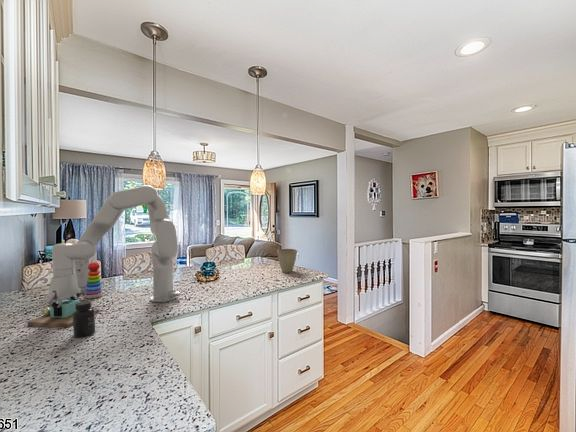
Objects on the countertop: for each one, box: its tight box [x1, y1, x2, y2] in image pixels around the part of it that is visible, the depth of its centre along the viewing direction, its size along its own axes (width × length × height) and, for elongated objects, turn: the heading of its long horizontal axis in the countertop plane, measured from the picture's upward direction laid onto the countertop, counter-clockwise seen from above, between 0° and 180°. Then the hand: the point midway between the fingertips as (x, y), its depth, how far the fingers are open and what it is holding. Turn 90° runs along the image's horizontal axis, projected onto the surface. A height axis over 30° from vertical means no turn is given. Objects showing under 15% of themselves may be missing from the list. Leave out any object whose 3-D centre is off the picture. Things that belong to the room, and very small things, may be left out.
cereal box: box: [75, 251, 98, 294], centre depth 165 cm, size 22×8×25 cm, turn 25°
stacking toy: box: [84, 262, 103, 300], centre depth 149 cm, size 8×8×19 cm
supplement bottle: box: [72, 300, 96, 338], centre depth 106 cm, size 7×7×12 cm
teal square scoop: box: [42, 299, 81, 318], centre depth 121 cm, size 13×7×5 cm, turn 86°
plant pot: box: [276, 248, 298, 273], centre depth 207 cm, size 15×15×16 cm
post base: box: [27, 304, 100, 328], centre depth 121 cm, size 18×16×6 cm
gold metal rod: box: [44, 306, 50, 317], centre depth 119 cm, size 1×1×4 cm
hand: (65, 312), depth 121 cm, fingers closed on teal square scoop, 7 cm apart
